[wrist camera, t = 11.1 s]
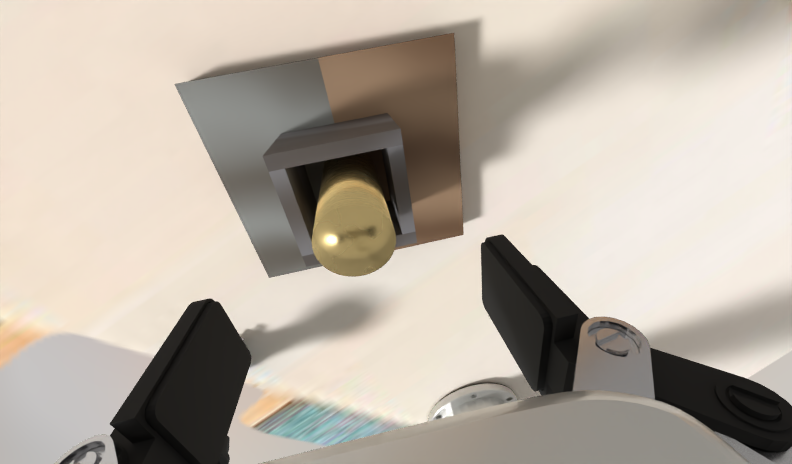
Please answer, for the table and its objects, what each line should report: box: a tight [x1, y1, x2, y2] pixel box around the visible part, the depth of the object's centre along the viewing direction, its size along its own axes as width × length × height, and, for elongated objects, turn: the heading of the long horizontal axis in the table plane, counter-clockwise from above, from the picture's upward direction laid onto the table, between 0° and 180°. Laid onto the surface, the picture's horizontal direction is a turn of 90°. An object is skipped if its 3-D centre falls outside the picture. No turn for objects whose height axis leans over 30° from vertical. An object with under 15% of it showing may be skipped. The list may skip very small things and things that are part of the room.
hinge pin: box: [312, 153, 396, 276], centre depth 17 cm, size 4×4×9 cm
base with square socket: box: [175, 33, 463, 278], centre depth 19 cm, size 14×16×6 cm
